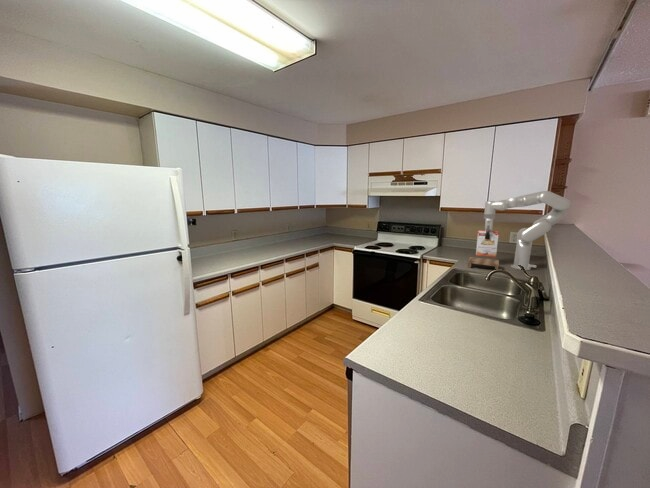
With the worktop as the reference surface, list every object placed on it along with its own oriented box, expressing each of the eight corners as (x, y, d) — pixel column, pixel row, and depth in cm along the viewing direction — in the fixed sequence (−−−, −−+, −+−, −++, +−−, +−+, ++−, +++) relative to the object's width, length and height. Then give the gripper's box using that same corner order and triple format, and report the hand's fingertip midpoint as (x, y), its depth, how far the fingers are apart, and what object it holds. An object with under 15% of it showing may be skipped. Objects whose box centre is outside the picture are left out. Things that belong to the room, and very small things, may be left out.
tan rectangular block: (497, 267, 210) (498, 260, 209) (497, 271, 198) (498, 264, 197) (469, 263, 221) (470, 256, 220) (467, 267, 209) (468, 260, 208)
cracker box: (476, 256, 218) (478, 231, 215) (475, 254, 224) (477, 230, 220) (496, 257, 213) (499, 231, 210) (494, 255, 219) (497, 230, 215)
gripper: (494, 217, 204) (492, 240, 207) (495, 215, 218) (493, 237, 221) (483, 217, 208) (481, 239, 211) (484, 215, 222) (482, 236, 225)
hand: (487, 238), depth 216 cm, fingers closed on cracker box, 6 cm apart
